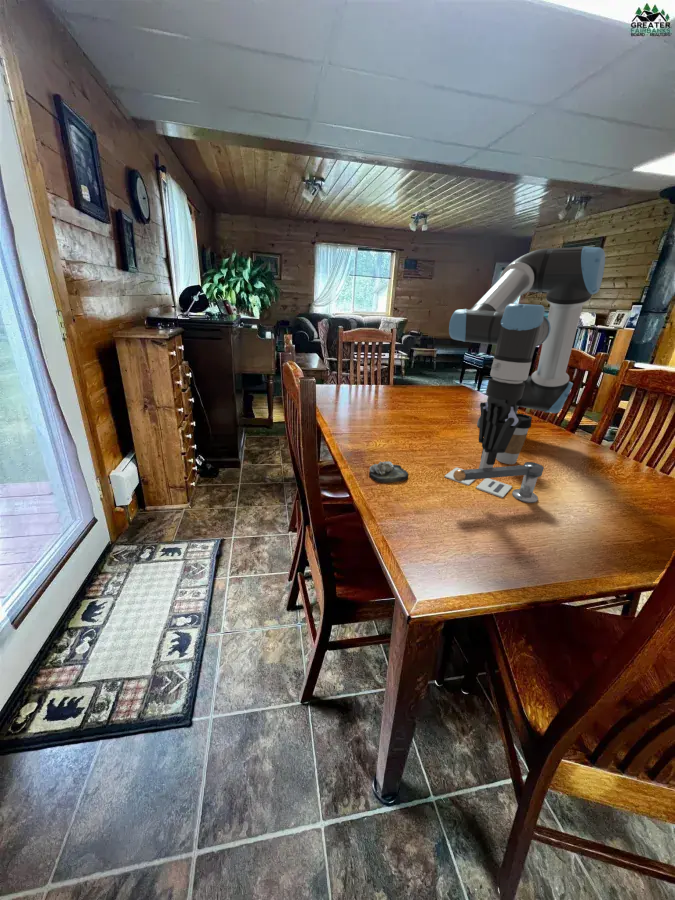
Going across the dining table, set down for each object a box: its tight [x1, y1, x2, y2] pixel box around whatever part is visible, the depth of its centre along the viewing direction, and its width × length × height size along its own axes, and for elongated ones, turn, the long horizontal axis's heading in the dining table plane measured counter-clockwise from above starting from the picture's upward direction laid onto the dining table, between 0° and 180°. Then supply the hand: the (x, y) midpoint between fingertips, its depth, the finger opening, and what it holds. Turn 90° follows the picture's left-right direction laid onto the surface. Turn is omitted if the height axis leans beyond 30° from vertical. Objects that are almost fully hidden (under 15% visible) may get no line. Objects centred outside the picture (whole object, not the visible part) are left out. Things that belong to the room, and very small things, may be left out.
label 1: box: [444, 467, 477, 486], centre depth 100 cm, size 8×7×1 cm
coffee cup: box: [495, 413, 533, 465], centre depth 110 cm, size 8×8×15 cm
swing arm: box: [453, 461, 545, 482], centre depth 86 cm, size 25×4×3 cm, turn 105°
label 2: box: [475, 478, 513, 499], centre depth 95 cm, size 8×7×1 cm
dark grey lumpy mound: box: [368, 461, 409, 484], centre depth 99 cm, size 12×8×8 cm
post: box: [511, 475, 539, 504], centre depth 90 cm, size 6×6×7 cm
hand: (484, 474), depth 87 cm, fingers closed
